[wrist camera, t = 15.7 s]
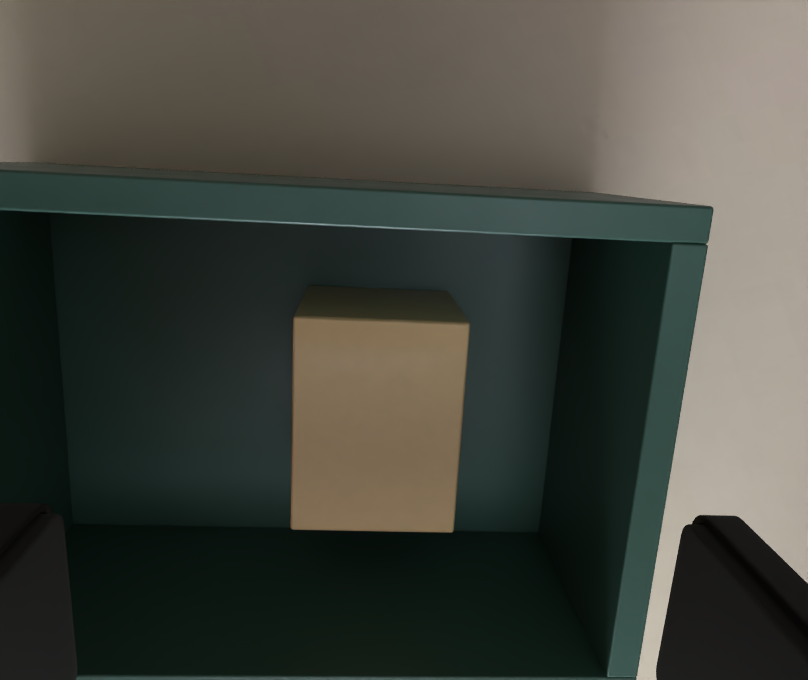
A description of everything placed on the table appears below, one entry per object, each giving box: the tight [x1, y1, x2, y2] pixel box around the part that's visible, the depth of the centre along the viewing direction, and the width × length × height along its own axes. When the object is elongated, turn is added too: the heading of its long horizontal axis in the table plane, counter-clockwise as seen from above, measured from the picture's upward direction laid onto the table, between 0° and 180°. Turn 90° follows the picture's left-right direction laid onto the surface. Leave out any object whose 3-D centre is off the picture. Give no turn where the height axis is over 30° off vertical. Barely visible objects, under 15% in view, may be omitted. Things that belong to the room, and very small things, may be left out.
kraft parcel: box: [290, 286, 470, 533], centre depth 20 cm, size 4×6×4 cm
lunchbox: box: [0, 162, 713, 680], centre depth 19 cm, size 18×13×8 cm
